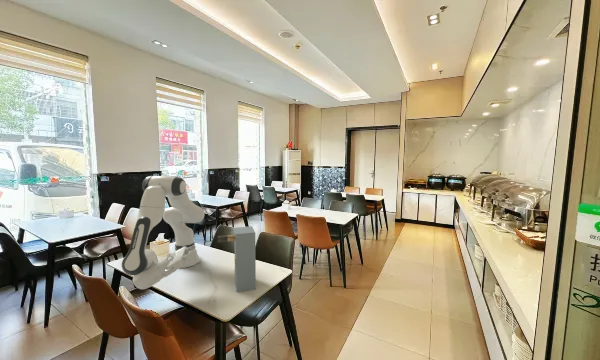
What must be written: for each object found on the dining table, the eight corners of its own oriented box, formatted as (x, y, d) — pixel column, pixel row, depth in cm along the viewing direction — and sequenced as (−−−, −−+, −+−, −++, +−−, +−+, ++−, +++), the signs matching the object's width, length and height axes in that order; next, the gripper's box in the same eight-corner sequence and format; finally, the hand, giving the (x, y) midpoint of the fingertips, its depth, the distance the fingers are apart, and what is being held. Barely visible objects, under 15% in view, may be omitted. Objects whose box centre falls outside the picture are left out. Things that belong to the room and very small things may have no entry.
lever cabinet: (233, 280, 140) (233, 227, 138) (252, 278, 144) (251, 226, 141) (235, 292, 128) (234, 234, 126) (255, 289, 131) (255, 232, 129)
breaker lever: (217, 240, 131) (217, 235, 131) (247, 238, 136) (247, 233, 136) (217, 242, 128) (217, 237, 128) (248, 239, 133) (248, 234, 133)
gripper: (160, 268, 112) (188, 251, 115) (168, 253, 131) (192, 238, 135) (168, 279, 113) (195, 261, 117) (175, 262, 133) (199, 247, 136)
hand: (194, 249), depth 126 cm, fingers open, 8 cm apart
